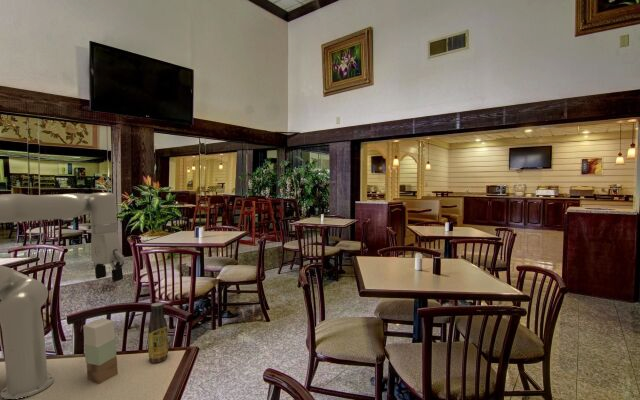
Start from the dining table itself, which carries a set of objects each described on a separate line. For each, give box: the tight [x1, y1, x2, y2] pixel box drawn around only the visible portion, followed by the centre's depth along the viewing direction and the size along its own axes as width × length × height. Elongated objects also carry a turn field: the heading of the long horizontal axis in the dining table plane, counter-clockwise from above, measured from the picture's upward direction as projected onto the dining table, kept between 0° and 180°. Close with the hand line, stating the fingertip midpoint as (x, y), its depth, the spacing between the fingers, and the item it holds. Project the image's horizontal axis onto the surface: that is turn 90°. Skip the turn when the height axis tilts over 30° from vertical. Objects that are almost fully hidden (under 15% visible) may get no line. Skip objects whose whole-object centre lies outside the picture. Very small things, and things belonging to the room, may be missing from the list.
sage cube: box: [84, 338, 117, 366], centre depth 109 cm, size 6×6×6 cm
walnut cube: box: [86, 356, 119, 385], centre depth 110 cm, size 6×6×6 cm
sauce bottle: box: [147, 302, 169, 364], centre depth 120 cm, size 6×6×20 cm
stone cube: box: [82, 318, 116, 347], centre depth 109 cm, size 6×6×6 cm
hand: (109, 279), depth 114 cm, fingers open, 9 cm apart
